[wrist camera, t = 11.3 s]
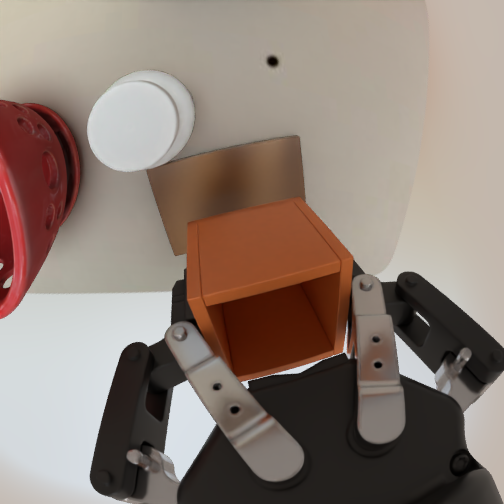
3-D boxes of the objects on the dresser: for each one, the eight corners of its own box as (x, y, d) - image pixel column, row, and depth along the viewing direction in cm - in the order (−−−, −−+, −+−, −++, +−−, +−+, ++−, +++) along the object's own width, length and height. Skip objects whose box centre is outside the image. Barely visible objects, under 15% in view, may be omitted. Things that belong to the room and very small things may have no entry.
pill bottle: (136, 156, 19) (96, 205, 11) (116, 93, 16) (57, 97, 8) (203, 133, 19) (209, 164, 11) (185, 68, 16) (176, 44, 8)
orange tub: (299, 195, 13) (354, 256, 9) (305, 282, 16) (343, 352, 12) (187, 221, 13) (186, 299, 8) (214, 305, 16) (226, 385, 12)
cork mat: (297, 135, 20) (299, 136, 20) (305, 221, 25) (307, 224, 24) (147, 168, 20) (145, 170, 19) (175, 252, 24) (174, 256, 24)
